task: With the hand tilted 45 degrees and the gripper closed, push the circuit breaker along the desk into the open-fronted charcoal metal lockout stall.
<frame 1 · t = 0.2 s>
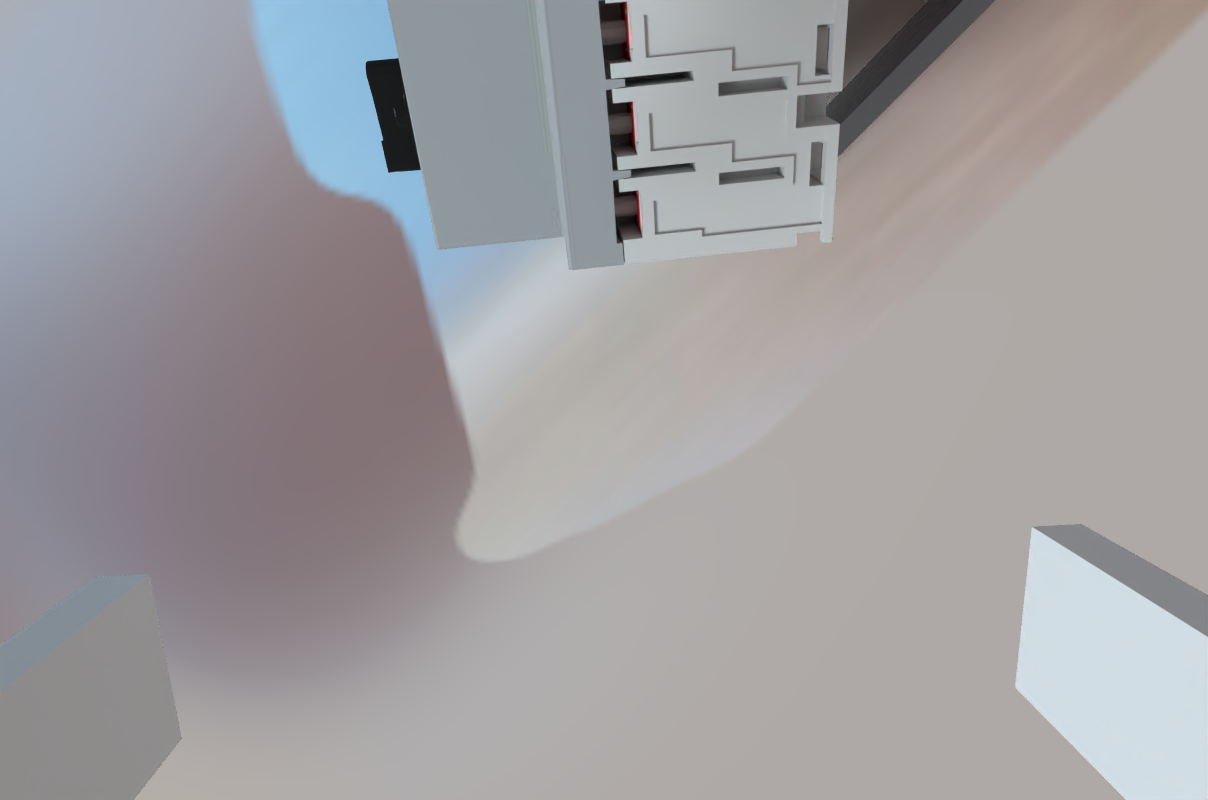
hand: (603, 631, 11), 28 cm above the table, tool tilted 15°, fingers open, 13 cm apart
circuit breaker: (571, 86, 32), on the table
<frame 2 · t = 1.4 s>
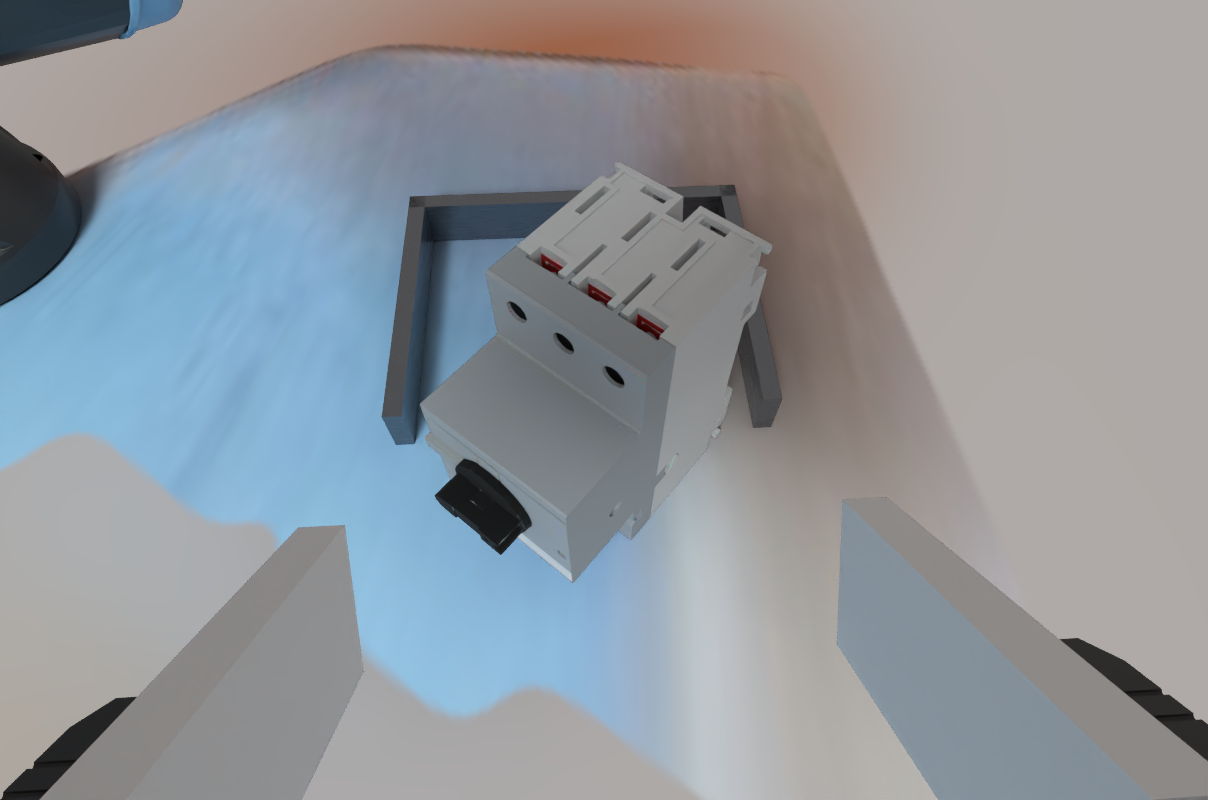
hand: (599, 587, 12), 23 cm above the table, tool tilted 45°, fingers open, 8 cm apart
circuit breaker: (587, 486, 38), on the table
lockout stall: (579, 326, 44), on the table
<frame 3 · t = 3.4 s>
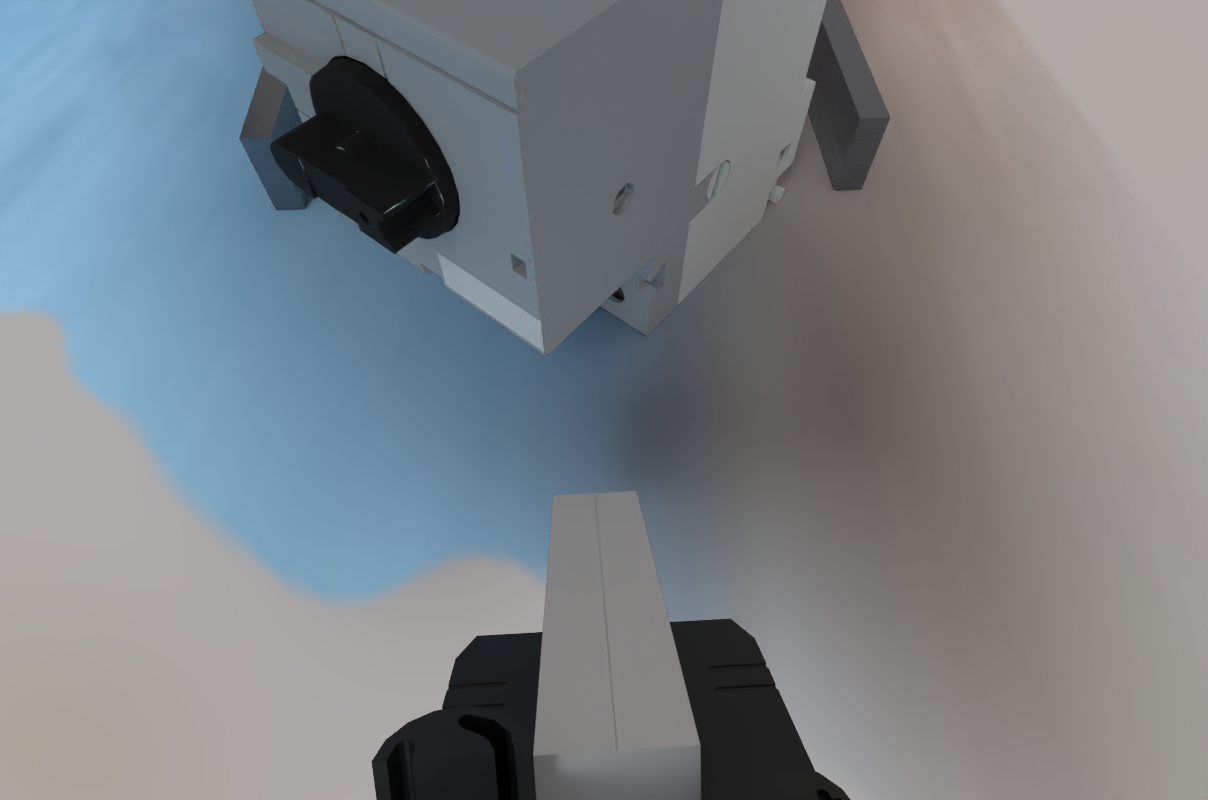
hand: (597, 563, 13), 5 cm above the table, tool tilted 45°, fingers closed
circuit breaker: (576, 266, 24), on the table
lockout stall: (566, 69, 29), on the table
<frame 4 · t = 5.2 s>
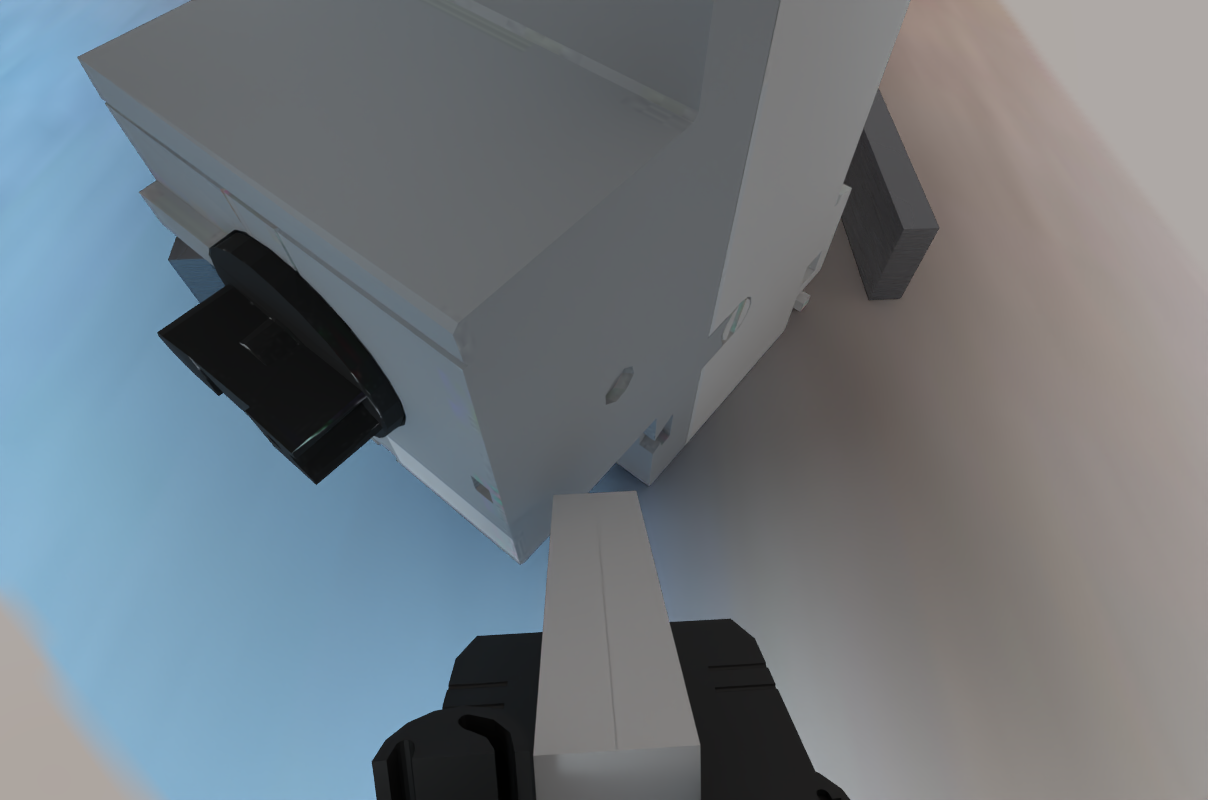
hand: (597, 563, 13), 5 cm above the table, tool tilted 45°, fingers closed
circuit breaker: (567, 390, 21), on the table, touching gripper
lockout stall: (558, 148, 26), on the table
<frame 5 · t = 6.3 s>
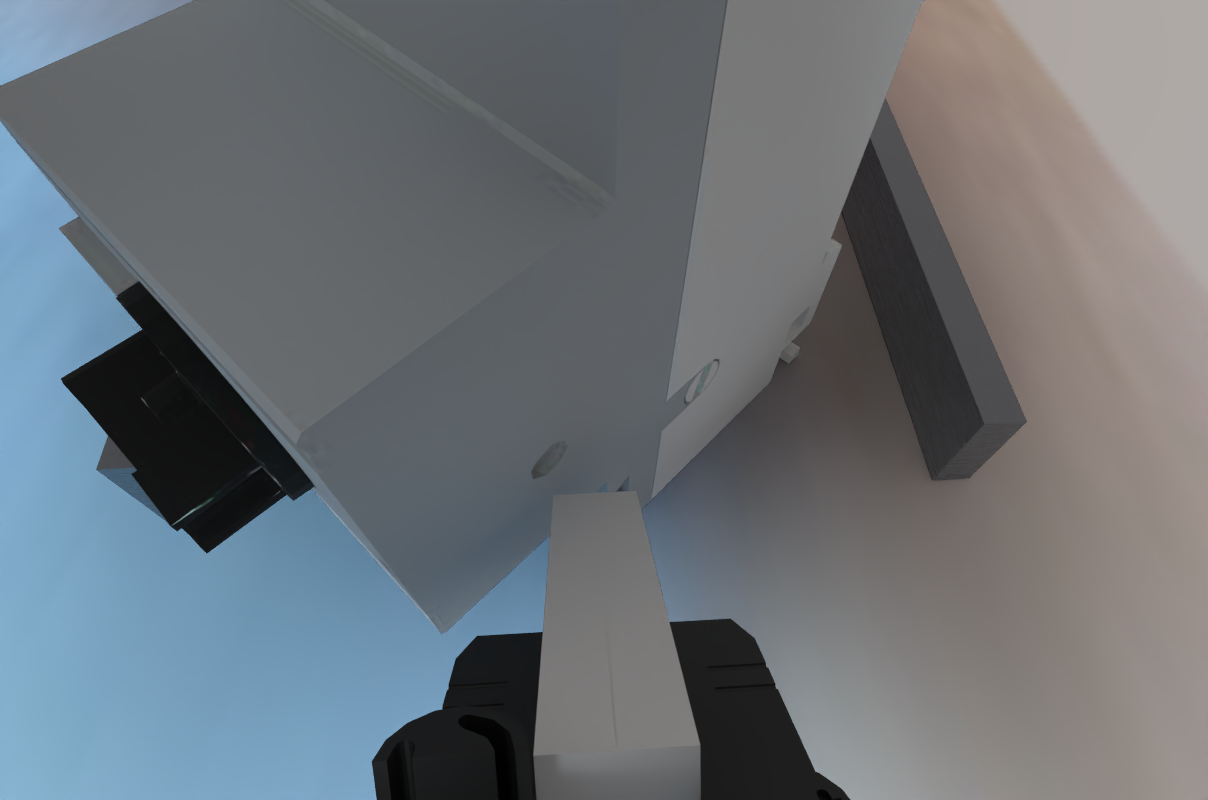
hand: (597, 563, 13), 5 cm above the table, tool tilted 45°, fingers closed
circuit breaker: (536, 431, 20), on the table, touching gripper
lockout stall: (566, 276, 23), on the table
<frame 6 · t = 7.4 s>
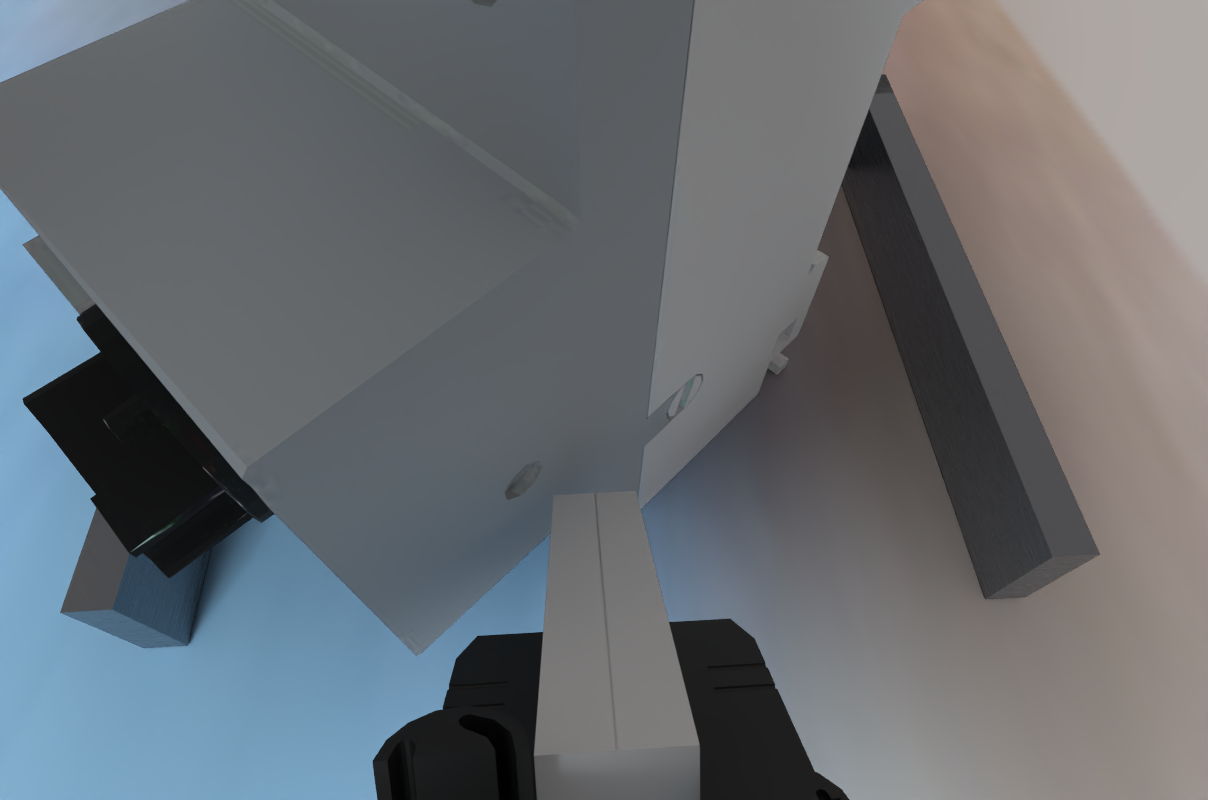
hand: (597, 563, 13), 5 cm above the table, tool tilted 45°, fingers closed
circuit breaker: (521, 444, 20), on the table, touching gripper
lockout stall: (581, 356, 21), on the table
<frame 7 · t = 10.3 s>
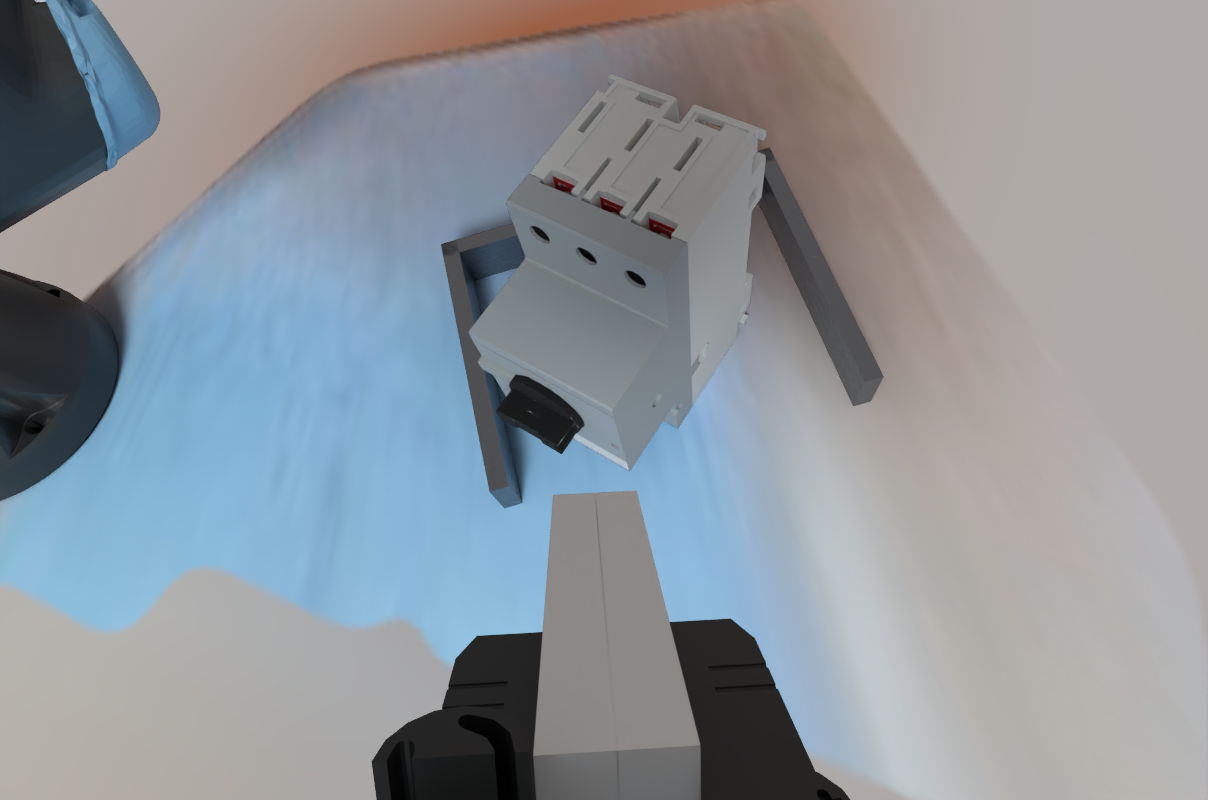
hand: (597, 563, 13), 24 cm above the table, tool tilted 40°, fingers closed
circuit breaker: (631, 386, 41), on the table
lockout stall: (648, 338, 42), on the table
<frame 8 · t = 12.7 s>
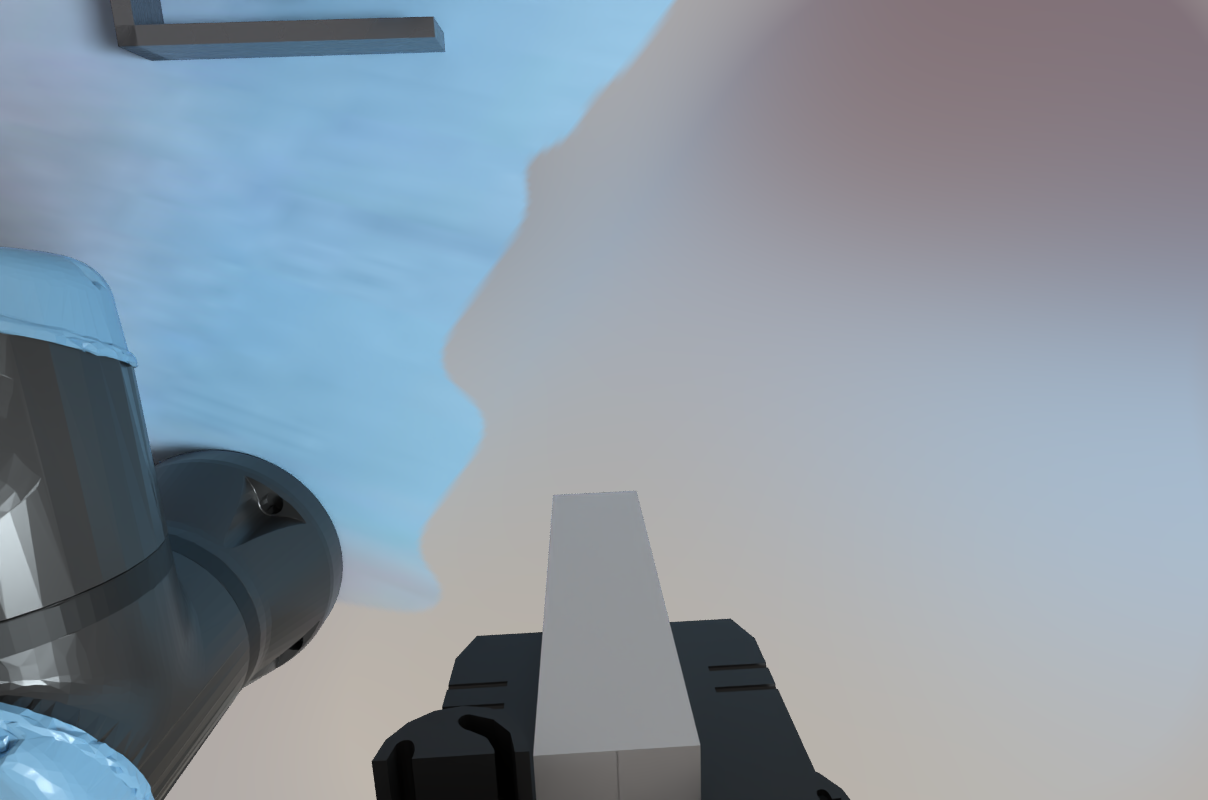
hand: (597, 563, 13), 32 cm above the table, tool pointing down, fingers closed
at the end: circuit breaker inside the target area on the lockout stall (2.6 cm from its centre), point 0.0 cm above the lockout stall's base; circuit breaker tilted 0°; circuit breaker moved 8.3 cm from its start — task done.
